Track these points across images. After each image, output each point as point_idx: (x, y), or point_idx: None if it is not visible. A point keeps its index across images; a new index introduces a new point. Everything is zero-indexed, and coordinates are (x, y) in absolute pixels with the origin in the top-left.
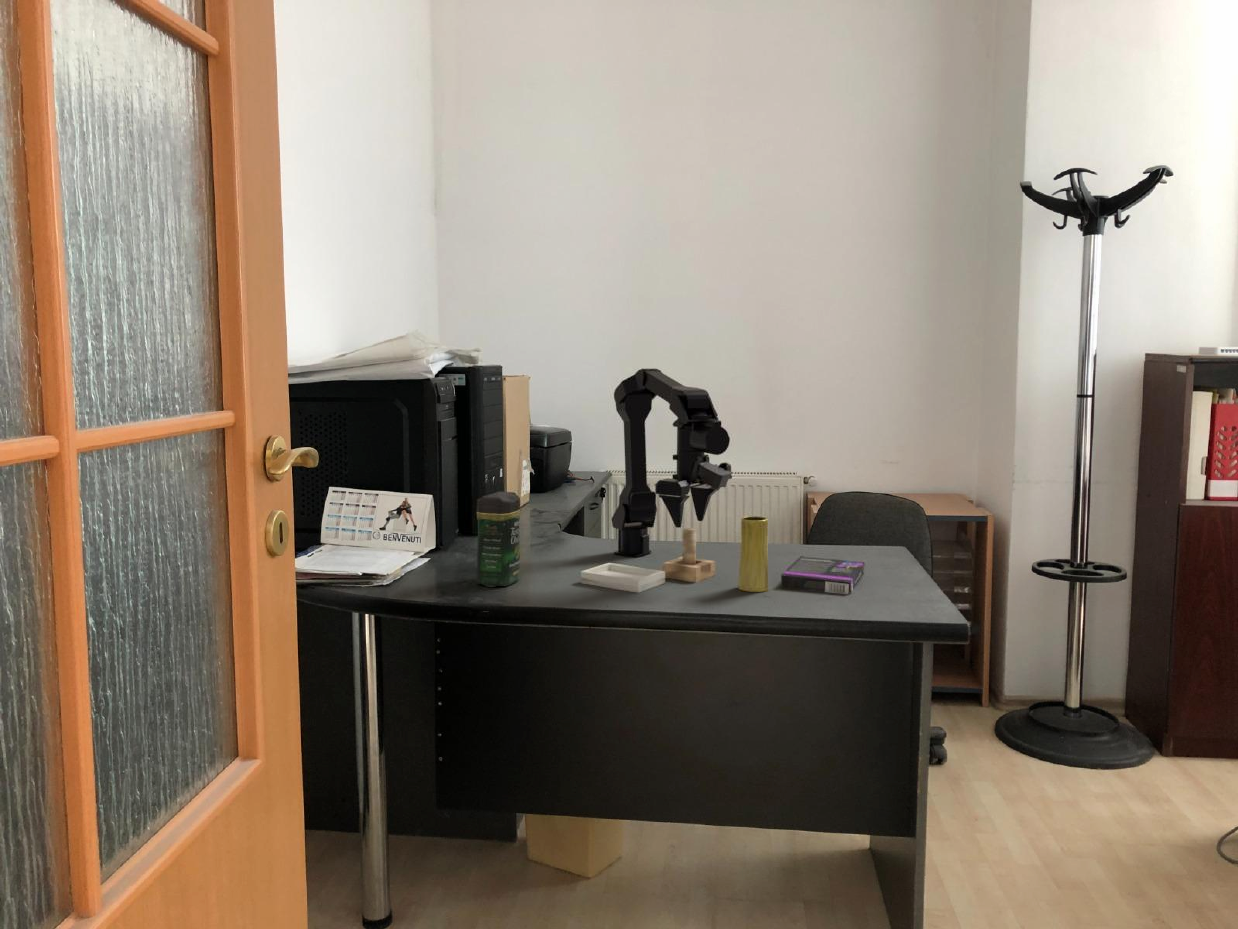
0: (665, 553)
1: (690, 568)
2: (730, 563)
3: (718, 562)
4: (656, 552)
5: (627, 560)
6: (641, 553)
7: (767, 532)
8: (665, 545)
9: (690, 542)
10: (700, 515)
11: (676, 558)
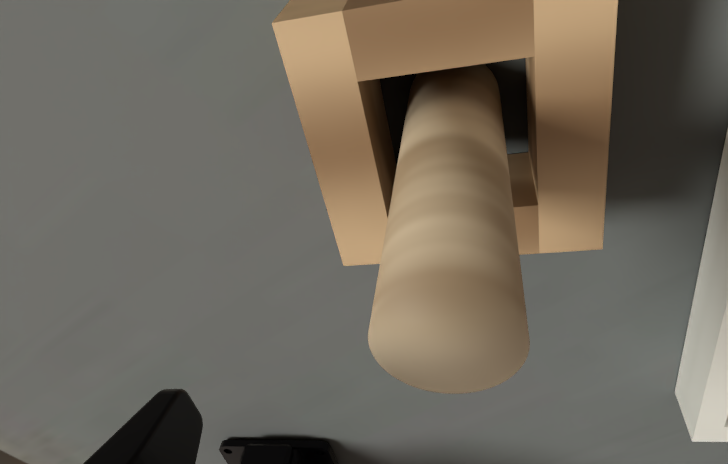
0: None
1: (615, 21)
2: (6, 121)
3: (59, 180)
4: None
5: (389, 441)
6: (292, 448)
7: None
8: None
9: (497, 215)
10: (164, 461)
11: None
